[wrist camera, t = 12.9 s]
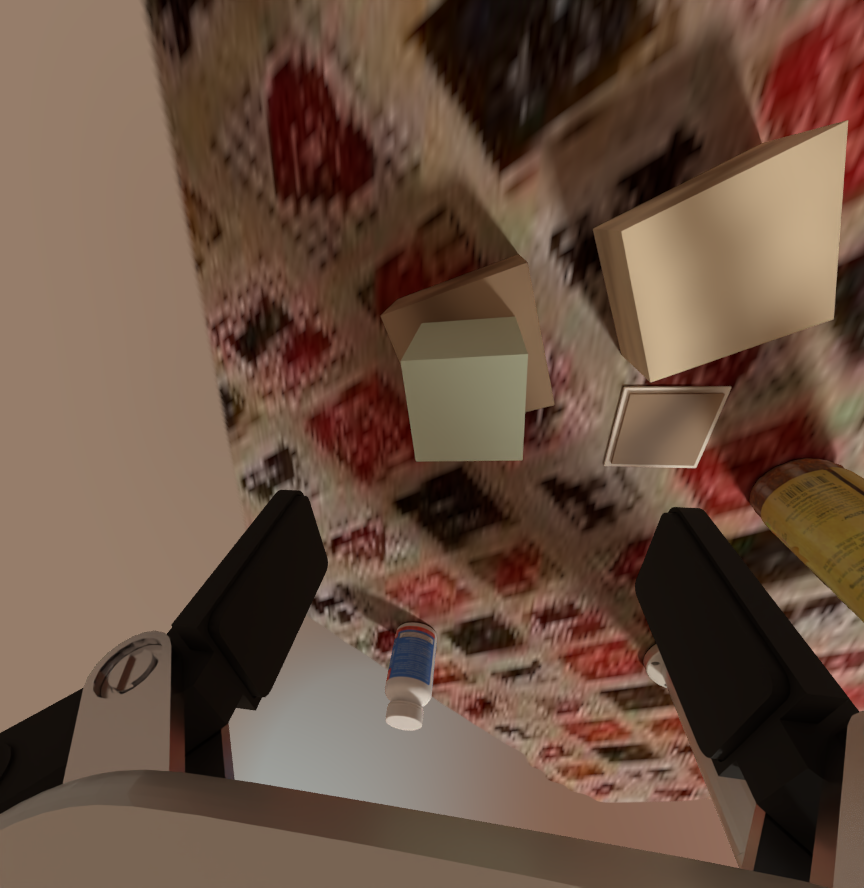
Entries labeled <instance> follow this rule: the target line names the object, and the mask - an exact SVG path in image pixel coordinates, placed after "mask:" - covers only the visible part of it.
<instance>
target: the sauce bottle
mask: <svg viewBox="0 0 864 888" xmlns="http://www.w3.org/2000/svg"><path fill="white" fill-rule="evenodd" d="M749 499H750V504H751V505H752V507H753V508H754V510H755V512H756V513H757V514H758V515H759V516H760V517H761V519H762V521H763V522H764V524H765V525H766V526H767V527H768V528H769V529H770V530H771V531H772V532H773V533H774V534H775V535H776V536H777V537H778V538H779V539H780V540H781V541H782V542H783V543H784V544H785V545H786V546H787V547H788V548H789V549H790V550H791V551H792V552H793V553H794V554H795V555H796V556H797V557H798V558H799V559H800V560H801V561H802V562H803V563H804V564H805V565H806V566H807V567H808V568H809V569H810V570H811V571H812V572H813V573H814V574H815V575H816V576H817V577H818V578H819V579H820V580H821V581H822V582H823V583H824V584H825V585H826V586H827V587H829V588H830V589H831V590H832V591H833V592H834V593H835V594H836V595H837V597H838V598H839V599H840V600H841V601H842V602H843V603H844V604H846V605H847V607H848V608H849V609H851V610H852V611H853V612H854V613H855V614H856V615H857V616H858V617H859V618H860V619H861V620H862V621H863V622H864V479H863V478H862V477H860V476H858V475H857V474H855V473H854V472H852V471H849V470H847V469H844V467H843V466H841V465H839V464H835V463H833V462H830V461H828V460H822V459H811V458H803V459H799V460H794V461H789V462H788V463H785V464H783V465H780V466H777V467H775V468H773V469H772V470H770V471H769V472H767V473H766V474H765V475H763V476H762V477H760V478H759V479H758V480H757V482H756V484H755V485H754V486H753V488H752V491H751V493H750V498H749Z"/></svg>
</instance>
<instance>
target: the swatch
mask: <svg viewBox="0 0 864 888" xmlns="http://www.w3.org/2000/svg"><path fill="white" fill-rule="evenodd" d="M731 388H732V387H731V386H652V387H624V388H623V391H622V395H621V399H620V403H619V407H618V411H617V415H616V418H615V422H614V426H613V430H612V434H611V438H610V442H609V445H608V449H607V453H606V457H605V461H604V466H624V467H670V468H696V467H697V465H698V463H699V460H700V458H701V456H702V454H703V451H704V449H705V447H706V445H707V442H708V440H709V438H710V435H711V433H712V431H713V429H714V426H715V424H716V422H717V420H718V417H719V415H720V413H721V411H722V408H723V406H724V404H725V401H726V399H727V397H728V395H729V392H730V390H731Z"/></svg>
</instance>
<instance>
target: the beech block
mask: <svg viewBox="0 0 864 888" xmlns="http://www.w3.org/2000/svg"><path fill="white" fill-rule="evenodd" d="M847 128H848V120H847V121H843V122H840V123H836V124H832V125H828V126H825V127H821V128H817V129H813V130H810V131H806V132H802V133H799V134H795V135H791V136H787V137H784V138H780V139H776V140H772V141H769V142H765V143H762V144H760V145H758V146H756V147H754V148H752V149H750V150H748V151H746V152H744V153H742V154H740V155H738V156H736V157H734V158H732V159H730V160H728V161H726V162H724V163H722V164H720V165H718V166H716V167H714V168H712V169H710V170H708V171H706V172H704V173H702V174H700V175H698V176H696V177H694V178H692V179H690V180H688V181H686V182H684V183H682V184H680V185H678V186H676V187H674V188H672V189H671V190H669V191H667V192H665V193H663V194H661V195H659V196H657V197H655V198H653V199H651V200H649V201H647V202H645V203H643V204H641V205H639V206H637V207H635V208H633V209H631V210H629V211H627V212H625V213H623V214H621V215H619V216H617V217H615V218H613V219H611V220H609V221H607V222H605V223H603V224H601V225H599V226H597V227H595V228H593V233H594V237H595V241H596V246H597V250H598V255H599V259H600V263H601V268H602V272H603V277H604V281H605V285H606V290H607V294H608V298H609V303H610V307H611V312H612V316H613V320H614V325H615V329H616V334H617V338H618V342H619V347H620V351H621V355H622V356H623V357H625V358H626V359H627V360H628V361H629V362H630V363H631V364H632V365H633V366H634V367H635V368H636V369H637V370H638V371H639V372H640V373H641V374H642V375H643V376H644V377H645V378H646V379H647V380H649V381H650V382H653V381H656V380H659V379H662V378H665V377H668V376H671V375H674V374H676V373H679V372H682V371H685V370H688V369H691V368H694V367H697V366H700V365H703V364H705V363H708V362H711V361H714V360H717V359H720V358H723V357H726V356H729V355H731V354H734V353H737V352H740V351H743V350H746V349H749V348H752V347H755V346H757V345H760V344H763V343H766V342H769V341H772V340H775V339H778V338H781V337H784V336H786V335H789V334H792V333H795V332H798V331H801V330H804V329H807V328H810V327H812V326H815V325H818V324H821V323H824V322H827V321H830V320H833V319H834V307H835V293H836V279H837V266H838V252H839V238H840V224H841V211H842V197H843V183H844V169H845V156H846V142H847Z"/></svg>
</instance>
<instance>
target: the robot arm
mask: <svg viewBox="0 0 864 888" xmlns="http://www.w3.org/2000/svg"><path fill="white" fill-rule="evenodd" d="M327 567H328V559H327V555H326V552H325V549H324V546H323V543H322V539H321V536H320V533H319V530H318V527H317V524H316V520H315V517H314V514H313V511H312V508H311V504H310V501H309V499H308V497H307V496H304V495H303V493H302V492H301V491H296V490H279V491H278V492H277V493H276V494H275V495H274V496H273V497H272V499H271V500H270V501H269V502H268V504H267V505H266V506H265V507H264V509H263V510H262V511H261V513H260V514H259V515H258V516H257V518H256V519H255V520H254V521H253V523H252V524H251V525H250V526H249V528H248V529H247V530H246V531H245V533H244V534H243V535H242V536H241V538H240V539H239V540H238V542H237V543H236V544H235V545H234V547H233V548H232V549H231V550H230V552H229V553H228V554H227V556H226V557H225V558H224V559H223V560H222V562H221V563H220V564H219V565H218V567H217V568H216V570H215V571H214V572H213V573H212V574H211V576H210V577H209V578H208V579H207V581H206V582H205V583H204V585H203V586H202V587H201V588H200V589H199V591H198V592H197V593H196V594H195V596H194V597H193V598H192V600H191V601H190V602H189V603H188V605H187V606H186V607H185V608H184V610H183V611H182V612H181V613H180V615H179V616H178V617H177V618H176V620H175V621H174V622H173V624H172V628H171V629H170V631H169V632H168V633H167V634H165V633H163V632H159V631H151V632H144V633H141V634H139V635H135V636H133V637H131V638H129V639H127V640H126V641H124V642H122V643H120V644H119V645H118V646H116V647H115V648H114V649H112V650H111V651H110V652H108V653H107V654H106V655H105V656H104V657H103V658H102V659H101V660H100V661H99V662H98V664H96V666H95V667H94V669H93V670H92V672H91V673H90V674H89V676H88V678H87V680H86V683H85V685H84V688H82V689H80V690H78V691H77V692H75V693H73V694H71V695H69V696H68V697H66V698H64V699H62V700H60V701H58V702H56V703H55V704H53V705H51V706H49V707H47V708H46V709H44V710H42V711H40V712H38V713H36V714H34V715H33V716H31V717H29V718H27V719H25V720H23V721H22V722H20V723H18V724H16V725H14V726H12V727H11V728H9V729H7V730H5V731H3V732H1V733H0V888H864V711H861V712H859V711H858V709H857V708H856V707H855V706H854V704H853V703H852V702H851V700H850V699H849V697H848V696H847V695H846V694H845V692H844V691H843V690H842V688H841V687H840V686H839V684H838V683H837V682H836V681H835V679H834V678H833V677H832V675H831V674H830V673H829V672H828V670H827V669H826V668H825V666H824V665H823V664H822V662H821V661H820V660H819V659H818V657H817V656H816V655H815V653H814V652H813V651H812V649H811V648H810V647H809V646H808V644H807V643H806V642H805V640H804V639H803V638H802V637H801V635H800V634H799V633H798V631H797V630H796V629H795V627H794V626H793V625H792V624H791V622H790V621H789V620H788V618H787V617H786V616H785V615H784V613H783V612H782V611H781V609H780V608H779V607H778V605H777V604H776V603H775V602H774V600H773V599H772V598H771V596H770V595H769V594H768V593H767V591H766V590H765V589H764V587H763V586H762V585H761V583H760V582H759V581H758V580H757V578H756V577H755V576H754V574H753V573H752V572H751V571H750V569H749V568H748V567H747V565H746V564H745V563H744V561H743V560H742V559H741V558H740V556H739V555H738V554H737V552H736V551H735V550H734V549H733V547H732V546H731V545H730V543H729V542H728V541H727V539H726V538H725V537H724V536H723V534H722V533H721V532H720V530H719V529H718V528H717V526H716V525H715V524H714V523H713V521H712V520H711V519H710V517H709V516H708V515H707V514H706V512H705V511H704V510H702V509H700V508H681V507H673V508H671V509H670V510H669V512H668V513H663V514H662V516H661V518H660V521H659V523H658V526H657V528H656V531H655V533H654V536H653V539H652V541H651V544H650V546H649V549H648V551H647V554H646V556H645V559H644V562H643V564H642V567H641V569H640V572H639V574H638V577H637V579H636V583H635V591H636V595H637V598H638V600H639V603H640V605H641V608H642V610H643V613H644V615H645V617H646V620H647V622H648V625H649V627H650V630H651V632H652V635H653V637H654V639H655V642H656V644H655V645H654V646H653V647H651V648H650V649H649V650H648V652H647V653H646V655H645V656H644V661H643V662H644V667H645V669H646V672H647V674H648V676H649V677H650V678H651V680H653V681H654V682H656V683H657V684H659V685H661V686H663V687H665V688H668V691H669V693H670V696H671V698H672V701H673V703H674V706H675V708H676V711H677V713H678V716H679V718H680V721H681V723H682V726H683V728H684V731H685V733H686V736H687V738H688V741H689V743H690V746H691V748H692V751H693V753H694V756H695V758H696V761H697V763H698V766H699V768H700V771H701V773H702V776H703V779H704V781H705V784H706V786H707V789H708V791H709V794H710V796H711V799H712V801H713V804H714V806H715V809H716V811H717V814H718V816H719V819H720V821H721V823H722V826H723V829H724V831H725V833H726V836H727V839H728V841H729V844H730V846H731V848H732V851H733V854H734V856H735V859H736V861H737V863H738V866H739V868H734V867H730V866H725V865H720V864H715V863H710V862H704V861H699V860H695V859H688V858H683V857H678V856H672V855H667V854H661V853H655V852H650V851H644V850H639V849H633V848H627V847H621V846H616V845H611V844H605V843H600V842H594V841H589V840H583V839H577V838H571V837H566V836H561V835H555V834H549V833H544V832H538V831H532V830H526V829H521V828H515V827H509V826H504V825H498V824H492V823H487V822H480V821H475V820H469V819H464V818H458V817H452V816H446V815H440V814H434V813H429V812H423V811H418V810H412V809H406V808H400V807H394V806H388V805H383V804H377V803H371V802H365V801H359V800H353V799H347V798H342V797H336V796H329V795H323V794H318V793H311V792H306V791H300V790H294V789H288V788H282V787H276V786H271V785H265V784H259V783H253V782H245V781H239V780H234V771H233V761H232V752H231V742H230V733H229V725H228V722H229V720H230V718H231V716H232V714H233V712H234V710H235V709H236V708H241V709H249V710H256V709H257V707H258V705H259V702H260V700H261V698H262V697H266V696H267V695H268V694H269V692H270V691H271V689H272V687H273V685H274V683H275V681H276V678H277V676H278V674H279V672H280V670H281V668H282V666H283V663H284V661H285V659H286V657H287V655H288V653H289V651H290V648H291V646H292V644H293V642H294V640H295V637H296V635H297V633H298V631H299V629H300V627H301V625H302V623H303V620H304V618H305V616H306V614H307V612H308V610H309V608H310V605H311V603H312V601H313V599H314V597H315V595H316V592H317V590H318V588H319V586H320V584H321V582H322V580H323V577H324V575H325V573H326V571H327Z"/></svg>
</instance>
